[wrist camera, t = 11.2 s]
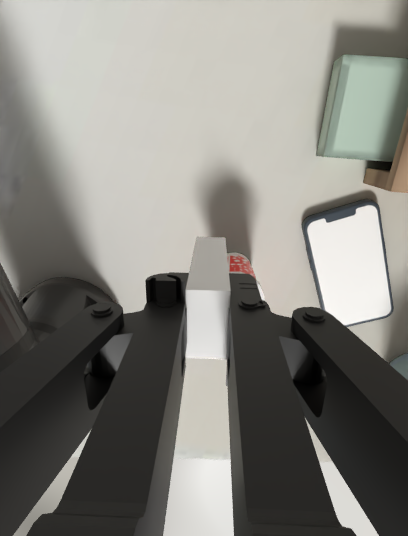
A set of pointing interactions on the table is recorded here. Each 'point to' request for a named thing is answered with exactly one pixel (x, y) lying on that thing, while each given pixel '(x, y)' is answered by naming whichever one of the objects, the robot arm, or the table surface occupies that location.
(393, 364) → the teal tapered cup
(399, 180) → the walnut shelf
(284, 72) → the table surface
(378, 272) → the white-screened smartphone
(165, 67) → the table surface
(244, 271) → the beverage cup
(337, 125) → the bevelled sage-green slab
